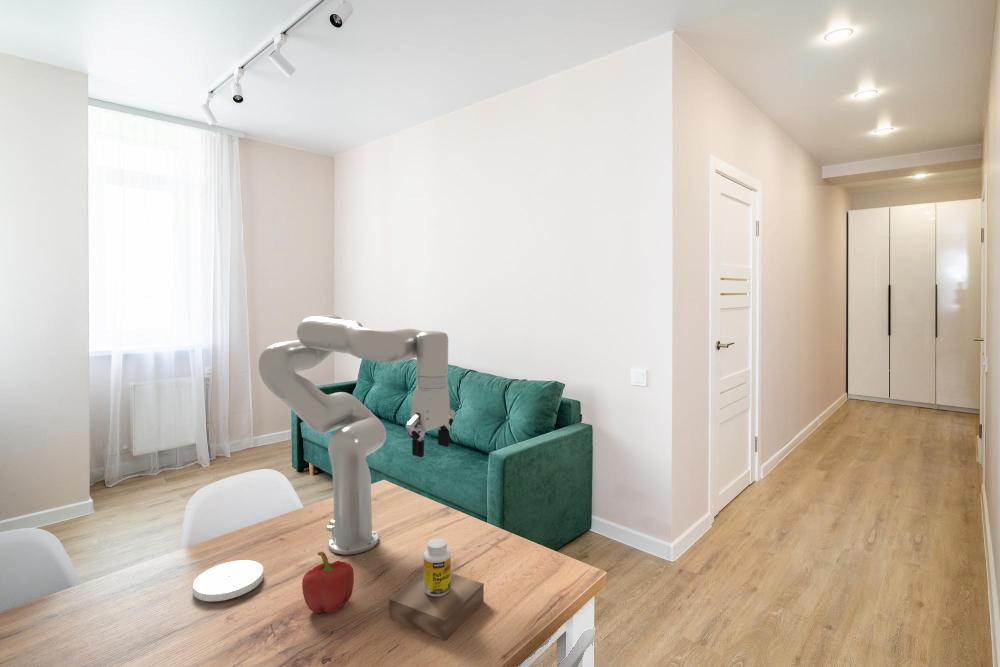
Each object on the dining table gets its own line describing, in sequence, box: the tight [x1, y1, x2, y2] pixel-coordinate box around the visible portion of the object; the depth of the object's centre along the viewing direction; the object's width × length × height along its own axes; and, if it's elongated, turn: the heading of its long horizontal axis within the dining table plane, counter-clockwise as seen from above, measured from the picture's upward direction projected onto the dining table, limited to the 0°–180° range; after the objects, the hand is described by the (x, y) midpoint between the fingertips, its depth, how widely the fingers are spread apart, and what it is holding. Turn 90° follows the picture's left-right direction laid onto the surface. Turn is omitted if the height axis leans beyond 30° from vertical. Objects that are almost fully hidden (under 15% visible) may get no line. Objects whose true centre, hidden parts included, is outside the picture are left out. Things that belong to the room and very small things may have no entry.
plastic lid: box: [192, 559, 264, 603], centre depth 114 cm, size 14×14×2 cm
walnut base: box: [388, 571, 485, 641], centre depth 106 cm, size 14×14×4 cm
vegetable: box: [301, 551, 355, 614], centre depth 107 cm, size 11×10×10 cm
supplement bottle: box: [423, 538, 452, 597], centre depth 105 cm, size 6×6×10 cm
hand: (431, 450), depth 125 cm, fingers open, 9 cm apart
